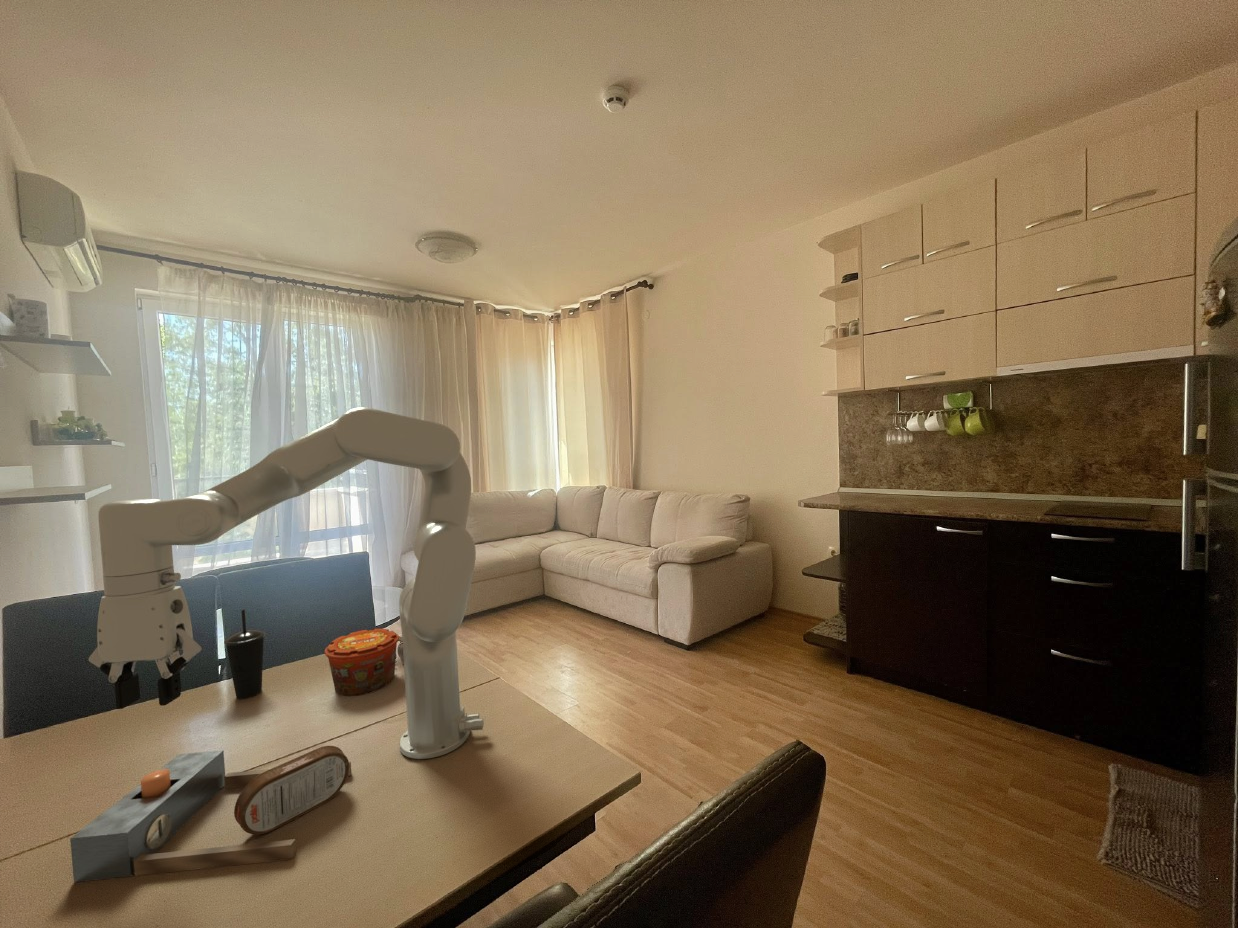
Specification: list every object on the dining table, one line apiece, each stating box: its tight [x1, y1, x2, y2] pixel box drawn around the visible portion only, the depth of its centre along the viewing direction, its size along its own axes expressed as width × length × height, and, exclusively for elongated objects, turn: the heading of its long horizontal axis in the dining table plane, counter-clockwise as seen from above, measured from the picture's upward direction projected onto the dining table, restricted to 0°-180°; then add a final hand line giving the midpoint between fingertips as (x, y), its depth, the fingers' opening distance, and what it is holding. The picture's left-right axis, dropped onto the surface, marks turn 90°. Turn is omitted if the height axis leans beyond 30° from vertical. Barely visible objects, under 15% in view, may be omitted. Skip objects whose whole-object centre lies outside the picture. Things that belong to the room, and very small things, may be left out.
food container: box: [324, 628, 400, 697], centre depth 119 cm, size 16×16×11 cm
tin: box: [233, 745, 350, 836], centre depth 76 cm, size 15×3×8 cm, turn 141°
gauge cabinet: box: [69, 749, 226, 883], centre depth 75 cm, size 7×18×6 cm, turn 5°
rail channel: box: [134, 761, 352, 876], centre depth 76 cm, size 20×18×2 cm
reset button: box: [140, 768, 171, 798], centre depth 74 cm, size 3×3×3 cm
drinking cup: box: [223, 609, 266, 700], centre depth 116 cm, size 8×8×20 cm
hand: (149, 701), depth 74 cm, fingers open, 5 cm apart
